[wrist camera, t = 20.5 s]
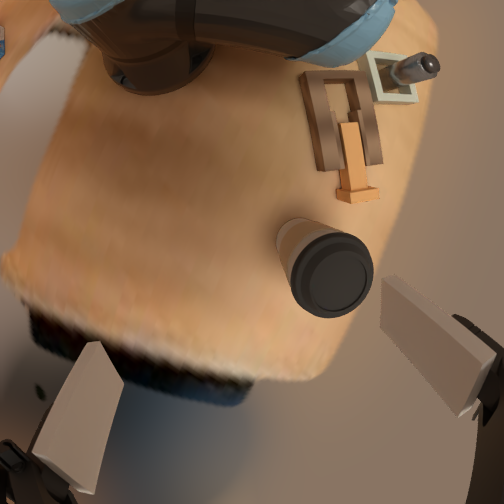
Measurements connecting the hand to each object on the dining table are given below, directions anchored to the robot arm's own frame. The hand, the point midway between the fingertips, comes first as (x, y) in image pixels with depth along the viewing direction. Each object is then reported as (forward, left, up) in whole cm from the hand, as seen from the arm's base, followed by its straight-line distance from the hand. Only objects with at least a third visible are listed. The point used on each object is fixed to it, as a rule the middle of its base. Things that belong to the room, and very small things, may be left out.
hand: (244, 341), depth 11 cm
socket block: (-11, +18, -27) cm, 34 cm away
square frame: (-17, +28, -27) cm, 42 cm away
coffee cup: (+5, +9, -27) cm, 29 cm away
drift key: (-5, +18, -27) cm, 32 cm away
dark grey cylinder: (-17, +27, -27) cm, 42 cm away
